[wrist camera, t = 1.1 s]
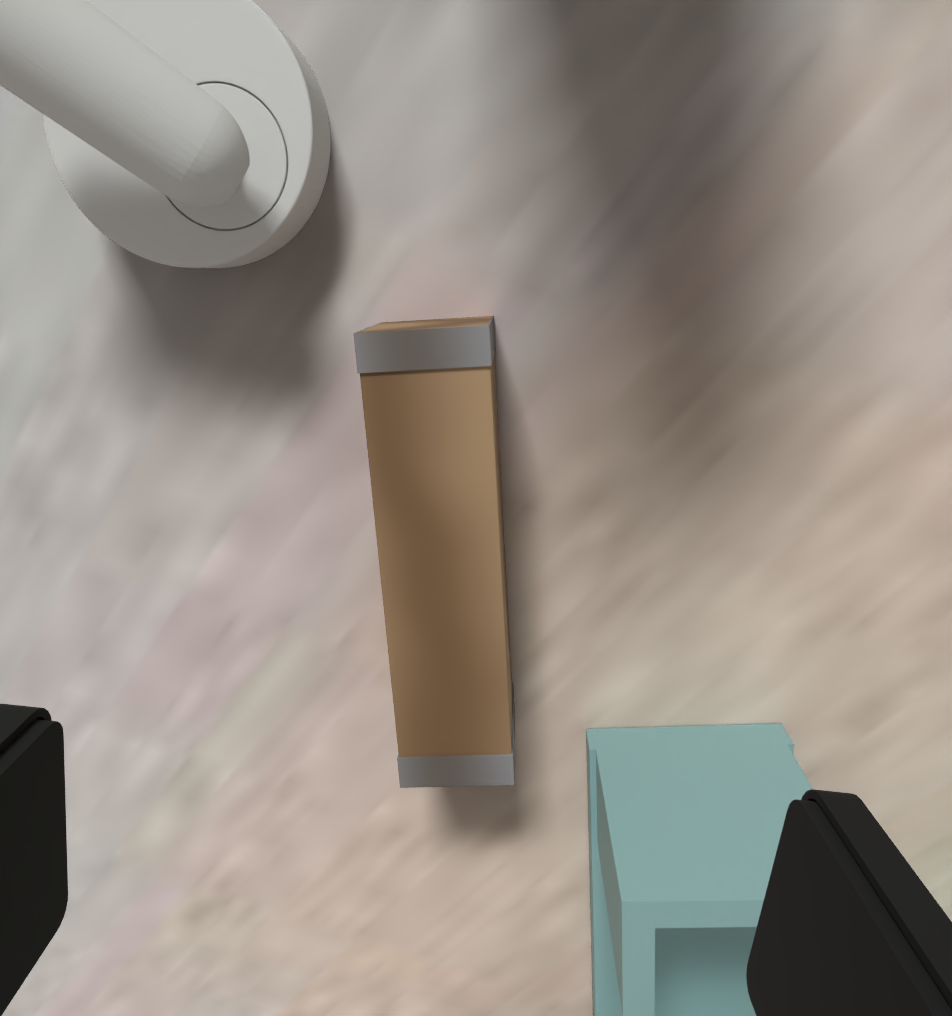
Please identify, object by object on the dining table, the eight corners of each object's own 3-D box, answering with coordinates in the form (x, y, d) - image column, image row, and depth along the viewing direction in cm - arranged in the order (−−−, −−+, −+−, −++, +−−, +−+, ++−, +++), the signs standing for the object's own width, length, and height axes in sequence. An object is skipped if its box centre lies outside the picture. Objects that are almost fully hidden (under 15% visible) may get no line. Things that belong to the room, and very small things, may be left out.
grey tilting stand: (-89, -304, 16) (311, 28, 18) (128, -97, 25) (380, 111, 27) (-248, 70, 18) (119, 339, 20) (4, 136, 28) (243, 317, 29)
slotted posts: (781, 723, 33) (884, 898, 24) (761, 1087, 38) (838, 1341, 29) (586, 728, 33) (613, 902, 24) (595, 1087, 39) (619, 1336, 30)
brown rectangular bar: (493, 315, 29) (489, 325, 24) (514, 709, 33) (514, 784, 28) (381, 322, 29) (353, 333, 24) (417, 711, 33) (400, 787, 28)
